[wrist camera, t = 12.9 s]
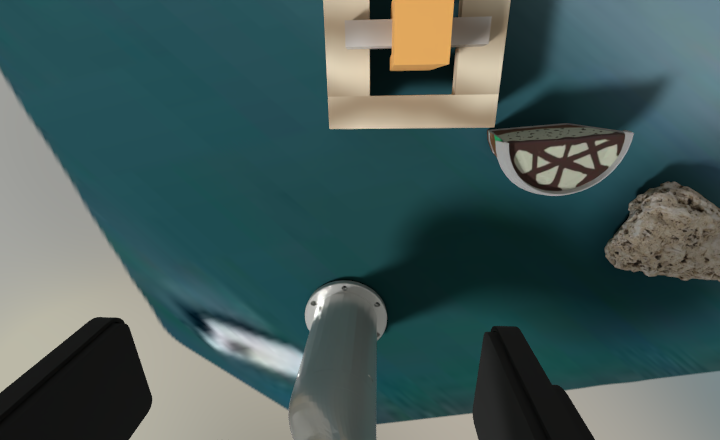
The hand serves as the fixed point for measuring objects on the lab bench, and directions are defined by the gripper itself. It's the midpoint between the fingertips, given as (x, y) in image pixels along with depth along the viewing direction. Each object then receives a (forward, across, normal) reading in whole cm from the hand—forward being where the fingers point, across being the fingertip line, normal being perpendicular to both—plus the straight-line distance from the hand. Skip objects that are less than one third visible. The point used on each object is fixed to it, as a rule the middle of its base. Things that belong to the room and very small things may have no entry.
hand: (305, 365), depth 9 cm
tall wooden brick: (+30, -5, -11) cm, 33 cm away
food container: (+36, -20, +1) cm, 42 cm away
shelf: (+36, -5, -11) cm, 38 cm away
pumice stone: (+37, -38, +11) cm, 54 cm away
